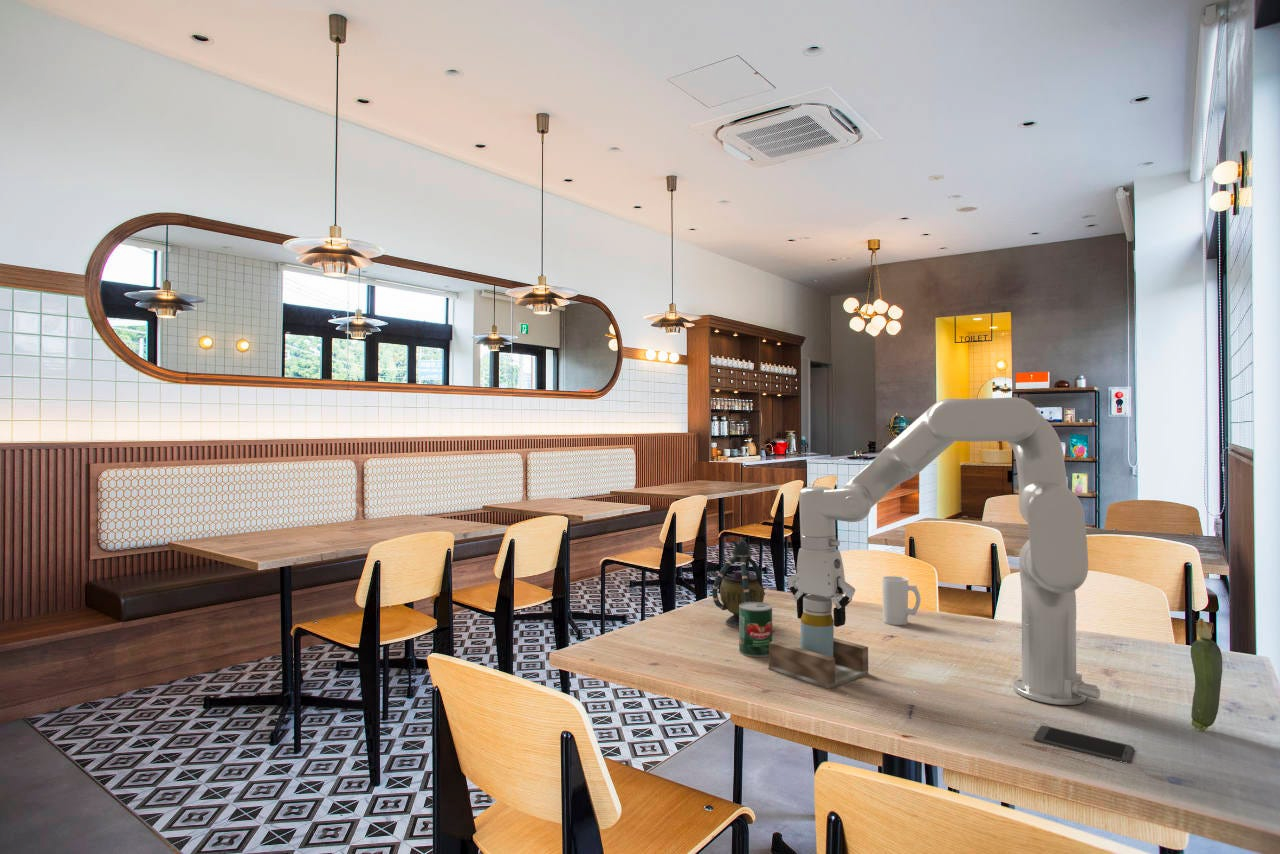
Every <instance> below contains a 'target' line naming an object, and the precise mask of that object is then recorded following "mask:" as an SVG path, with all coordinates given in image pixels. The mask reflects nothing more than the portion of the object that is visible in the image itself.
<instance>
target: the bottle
mask: <svg viewBox="0 0 1280 854" xmlns="http://www.w3.org/2000/svg"><path fill="white" fill-rule="evenodd" d="M832 609H833V602H832V600H831V598H826V597H820V596H815V595H809V594H808V595H807V596H804V597H803V614H802V617H801V619H800V647H799V648H801V649H804V650H808V651H811V652H815V653H818V654H822V655H825V656H828V657H832V658H833V638H834V634H835V632H834V629H835V628H834V627H835V626H834V616H833V615H832V614H833V613H832V611H833V610H832Z"/></svg>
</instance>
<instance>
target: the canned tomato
mask: <svg viewBox="0 0 1280 854" xmlns="http://www.w3.org/2000/svg"><path fill="white" fill-rule="evenodd" d="M738 631H739V633H738V634H739V635H738V636H739V637H738V639H739V640H738V641H739V642H738V644H739V646H738V648H739V649H738V651H739V653H740V654H741V655H743V656H745V657H746V656H747V657H753V658H763V657H764V658H765V657H769V642H773V605H772V604H770V603H767V602H763V603H762V602H745V603H742V604H740V605H739V628H738Z"/></svg>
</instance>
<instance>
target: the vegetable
mask: <svg viewBox="0 0 1280 854" xmlns="http://www.w3.org/2000/svg"><path fill="white" fill-rule="evenodd" d="M1197 634H1198V637H1199V638H1198V639H1196V640H1195V641H1193V642H1192V643H1191V647H1190V659H1191V663H1192V667H1193V673H1194V690H1193V696H1192V706H1191V725H1192V726H1193V727H1194V729H1195V730H1199V731H1202V732H1205V731H1206V730H1207V729H1208V728H1209V727H1210V726H1212V725H1213V724H1214V723H1215V721H1216V719H1217V715H1218V711H1219V707H1220V695H1221V688H1222V687H1221V686H1222V677H1223V655H1222V651H1221V648H1220V646H1219V645H1218V644H1217V643H1216V642H1215V641H1214V640H1212V637H1213V635H1212V631H1211V628H1210V627H1209V626H1208V624H1207V623H1206V621H1205V620H1204V618H1198V620H1197Z"/></svg>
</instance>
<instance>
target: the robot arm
mask: <svg viewBox="0 0 1280 854" xmlns="http://www.w3.org/2000/svg"><path fill="white" fill-rule="evenodd" d="M955 442H973V443H974V442H1007V444H1008V445H1009V446H1010V447H1011V448H1012V451H1013V453H1014V457H1015V458H1014V459H1015V462H1016V469H1017V470H1016V471H1017V483H1018V484H1017V485H1018V509H1019V514H1020V515H1021V517H1022V518H1023V520H1024V521H1025V522H1026V523H1027V525H1028V526H1027V528H1028V529H1027V530H1028V539H1027V541H1026V542H1025V543H1024V544H1023V545H1022V547H1021V550H1020V553H1019V558H1018V559H1019V560H1018V565H1019V576H1020V577H1019V578H1020V579H1019V580H1020V590H1021V678H1017V679H1015V680H1014V681H1013V683H1012V684H1013V686H1012V687H1013V690H1014V691H1015V692H1016V693H1017V694H1019V695H1020V696H1022V697H1024V698H1027V699H1030V700H1032V701H1036V702H1040V703H1045V704H1050V705H1057V706H1058V705H1059V706H1073V705H1074V706H1075V705H1080V704H1083V703H1084V702H1085V701H1086V699H1087V697H1088V698H1091V699H1096V700H1099V699H1100V697H1101V689H1100V688H1098V685H1095V684H1091V683H1086V682H1084V680H1082V678H1083V676H1082V674H1081V673H1077V598H1076V590H1078V589H1079V588H1081V587H1082V585H1083V584H1084V583H1085V581H1086V580H1087V577H1088V573H1089V554H1088V553H1089V551H1088V540H1087V539H1088V538H1087V527H1086V517H1085V516H1086V515H1085V511H1084V506H1083V504H1082V502H1081V500H1080V498H1079V497H1078V496H1077V494H1075V493H1074V492H1073V491H1072V490H1071V489H1069V487H1068V480H1067V471H1066V469H1067V468H1066V464H1065V456H1064V449H1063V446H1062V442H1061V439H1060V438H1059V435H1058V433H1057V432H1056V430H1055V428H1054V427H1053V425H1052V424H1051V423H1050V422H1049V421H1048V420H1047V419H1046V418H1045V417H1044V416H1043V415H1041V414H1040V413H1039V412H1038V410H1037V408H1036V406H1035V405H1034V404H1033V403H1031V402H1030V401H1028V400H1027V399H1024V398H1020V397H1014V396H1013V397H989V398H988V397H987V398H986V397H984V398H945V399H942V400H939V401H937V402H935V403H933V404H932V405H931V406H930V407H929V408H928V409H927V410H925V411H924V412H923V413H922V414H920V416H919V417H917V418H916V419H915V420H914V421H913V422H912V423H911V424H909V426H908V427H906V428H905V429H904V430H903V431H902V432H900V433H899V435H898V436H896V437H895V438H894V439H893V440H892V441H891V442H890V443H888V444H887V445H886V446H885V447H884V448H883V449H882V450H881V451H880V453H879V454H878V455H877V456H876V457H875V458H874V459H873V460H872V461H871V462H869V463H868V464H867V465H866V466H865V467H864V468H863V469H862V470H861V471H860V472H858V473H857V474H856V475H855V476H853V478H851V479H850V481H848V482H847V483H846V484H845V485H844V486H842V487H840V488H831V487H828V486H807V487H803V488H801V490H800V491H799V493H798V494H799V495H798V498H799V500H798V501H799V503H798V504H799V527H800V528H799V530H800V548H799V549H798V553H797V561H796V573H795V574H793V575H791V576H789V577H787V578H786V581H787V584H788V587H789V591H790V593H791V594H792V595H793V599H794V600H795V601H796V613H797V615H796V616H797V618H796V619H800V620H801V617H802V614H803V597H804V596H807V595H815V596H820V597H826V598H831V600H832V604H833V605H834V606H835V607H834V608H832V609H833V610H832V611H833V613H832V614H833V620H834V627H835V628H839V627H842V626H845V624H846V621H847V620H846V618H847V617H846V616H847V615H846V607H848V606H849V604H850V603H851V602H852V600H853V597H854V595H855V592H856V589H855V587H854V586H852V585H851V584H850V583H848V582H847V581H846V579H845V578H846V577H845V570H844V569H845V568H844V564H843V557H842V555H841V552H840V550H839V549H837V547H839V546H840V545H841V541H840V540H838V539H837V537H836V535H837V533H836V521H840V522H847V523H858V522H861V521H862V520H864V519H866V518H867V517H868V515H870V512H871V509H872V508H873V507H874V506H875V505H876V504H877V503H879V502H880V501H881V500H882V499H883V498H884V497H885V496H887V495H888V494H889V493H890V492H891V491H893V490H894V489H895V488H897V487H898V486H899V485H900V484H903V483H904V482H906V481H908V480H911V479H913V478H914V477H915V476H917V475H918V474H919V473H921V471H924V469H925V468H926V467H927V466H929V465H930V464H931V463H932V462H933V461H934V460H936V458H938V457H939V456H940V455H941V454H942V453H943V452H945V451H946V450H947V449H948V448H949V447H951V446H952V445H953V444H954V443H955Z"/></svg>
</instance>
